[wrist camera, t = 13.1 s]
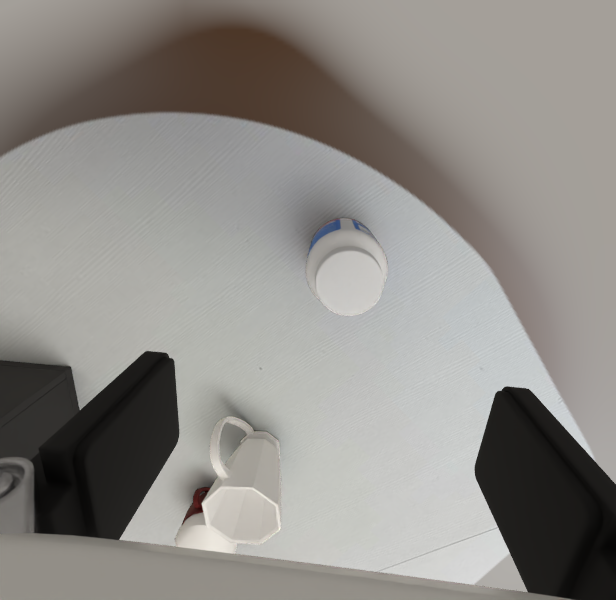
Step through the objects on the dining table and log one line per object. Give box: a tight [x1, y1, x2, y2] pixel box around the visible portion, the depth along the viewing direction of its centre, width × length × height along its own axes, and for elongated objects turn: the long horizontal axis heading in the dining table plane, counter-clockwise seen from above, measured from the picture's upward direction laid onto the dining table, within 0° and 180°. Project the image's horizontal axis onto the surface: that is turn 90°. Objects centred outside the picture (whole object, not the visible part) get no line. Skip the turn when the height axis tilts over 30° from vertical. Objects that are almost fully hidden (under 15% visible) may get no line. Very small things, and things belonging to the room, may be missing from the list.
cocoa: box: [175, 487, 237, 554], centre depth 35 cm, size 10×6×12 cm, turn 174°
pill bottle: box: [306, 218, 388, 316], centre depth 25 cm, size 6×5×10 cm
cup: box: [202, 417, 281, 544], centre depth 33 cm, size 7×10×8 cm
